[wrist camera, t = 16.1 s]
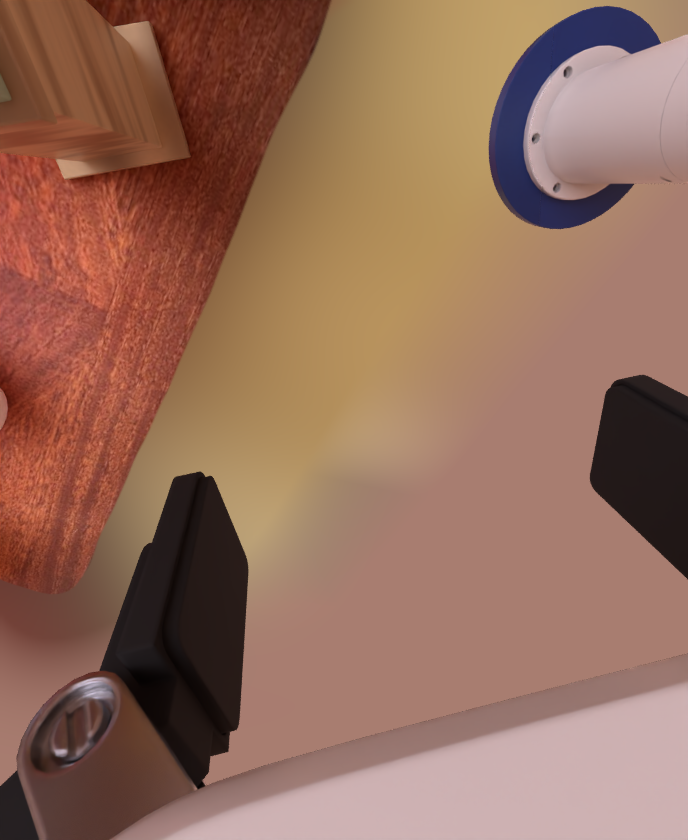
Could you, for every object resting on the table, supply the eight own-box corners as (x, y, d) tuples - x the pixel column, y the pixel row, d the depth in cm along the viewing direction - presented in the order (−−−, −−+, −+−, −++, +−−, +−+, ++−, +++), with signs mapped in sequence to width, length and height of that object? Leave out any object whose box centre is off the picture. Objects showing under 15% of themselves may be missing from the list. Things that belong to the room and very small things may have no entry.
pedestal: (156, 15, 33) (-282, -620, 7) (198, 162, 38) (41, 119, 12) (1, 40, 32) (-1120, -550, 6) (66, 187, 37) (-402, 196, 11)
